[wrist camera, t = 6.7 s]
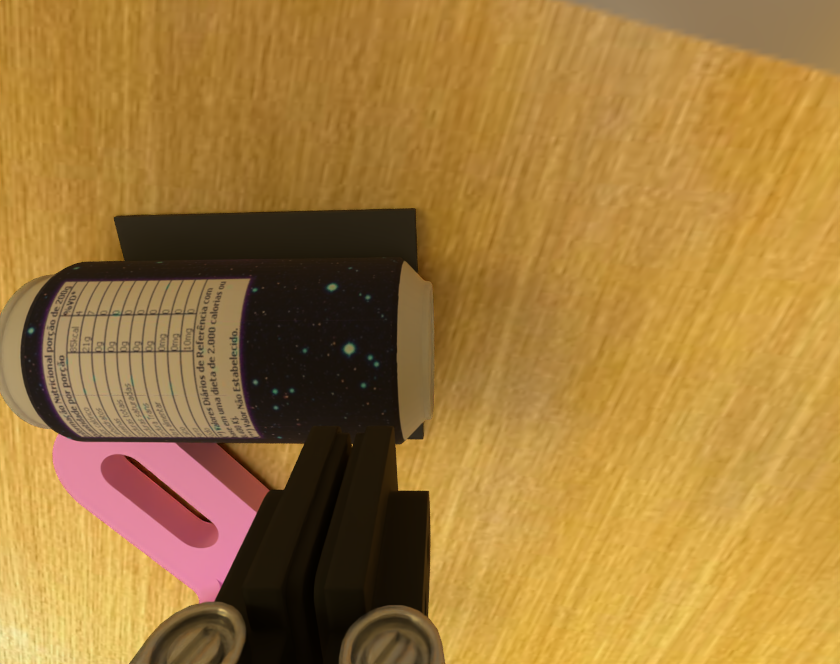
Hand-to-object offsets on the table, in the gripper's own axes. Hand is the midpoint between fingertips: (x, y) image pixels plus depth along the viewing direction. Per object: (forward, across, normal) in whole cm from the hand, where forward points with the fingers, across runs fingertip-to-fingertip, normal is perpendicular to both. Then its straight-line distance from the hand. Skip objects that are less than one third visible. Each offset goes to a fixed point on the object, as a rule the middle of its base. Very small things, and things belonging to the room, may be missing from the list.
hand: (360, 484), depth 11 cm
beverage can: (+6, -2, 0) cm, 6 cm away
